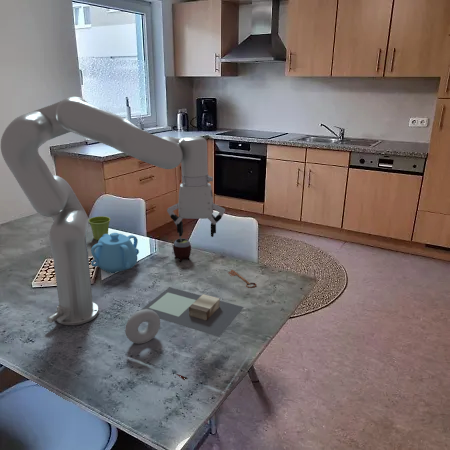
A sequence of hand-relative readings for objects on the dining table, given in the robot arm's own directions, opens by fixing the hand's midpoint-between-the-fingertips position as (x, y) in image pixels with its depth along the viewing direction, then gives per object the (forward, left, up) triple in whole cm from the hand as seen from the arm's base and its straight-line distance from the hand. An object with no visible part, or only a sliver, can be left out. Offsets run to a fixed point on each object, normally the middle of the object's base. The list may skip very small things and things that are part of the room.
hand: (196, 235), depth 125 cm
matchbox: (-32, -13, -25) cm, 43 cm away
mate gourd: (+28, +22, -24) cm, 43 cm away
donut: (-24, +3, -24) cm, 35 cm away
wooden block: (-3, -5, -24) cm, 24 cm away
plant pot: (+30, +65, -24) cm, 76 cm away
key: (+23, -6, -25) cm, 34 cm away
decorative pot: (+10, +40, -24) cm, 48 cm away
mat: (-4, -1, -24) cm, 24 cm away
